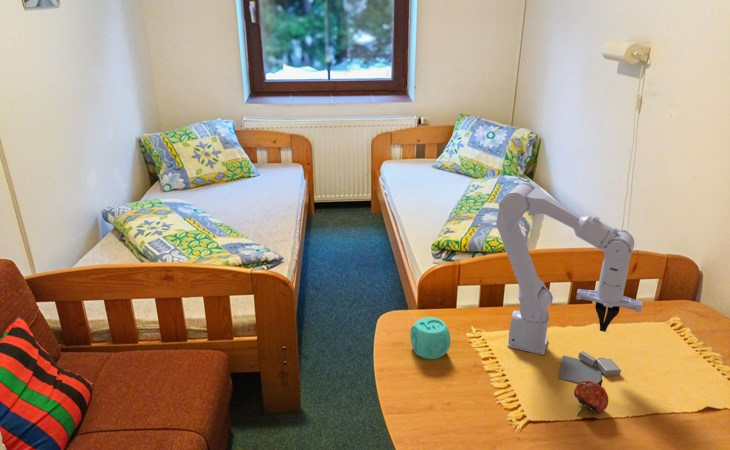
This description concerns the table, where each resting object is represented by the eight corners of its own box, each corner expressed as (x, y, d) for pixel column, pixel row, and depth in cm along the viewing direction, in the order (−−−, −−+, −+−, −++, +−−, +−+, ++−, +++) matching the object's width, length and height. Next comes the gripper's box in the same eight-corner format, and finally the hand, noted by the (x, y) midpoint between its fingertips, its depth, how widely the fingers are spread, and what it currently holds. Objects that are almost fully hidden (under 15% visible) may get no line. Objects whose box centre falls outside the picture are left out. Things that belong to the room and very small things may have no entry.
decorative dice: (409, 344, 149) (410, 319, 146) (436, 339, 151) (438, 314, 148) (421, 362, 142) (422, 335, 139) (449, 356, 144) (451, 330, 141)
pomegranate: (595, 432, 123) (624, 398, 124) (582, 415, 119) (611, 381, 120) (570, 413, 129) (598, 382, 130) (557, 397, 126) (585, 365, 127)
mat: (558, 378, 136) (558, 377, 136) (562, 356, 145) (562, 355, 144) (599, 388, 133) (600, 387, 133) (601, 365, 141) (601, 364, 141)
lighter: (619, 375, 138) (601, 354, 145) (621, 369, 137) (603, 349, 144) (593, 376, 136) (576, 356, 143) (595, 371, 135) (578, 350, 143)
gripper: (578, 281, 132) (570, 330, 137) (646, 294, 126) (634, 345, 131) (581, 269, 138) (573, 316, 143) (645, 281, 132) (635, 330, 137)
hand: (602, 329), depth 138 cm, fingers closed
